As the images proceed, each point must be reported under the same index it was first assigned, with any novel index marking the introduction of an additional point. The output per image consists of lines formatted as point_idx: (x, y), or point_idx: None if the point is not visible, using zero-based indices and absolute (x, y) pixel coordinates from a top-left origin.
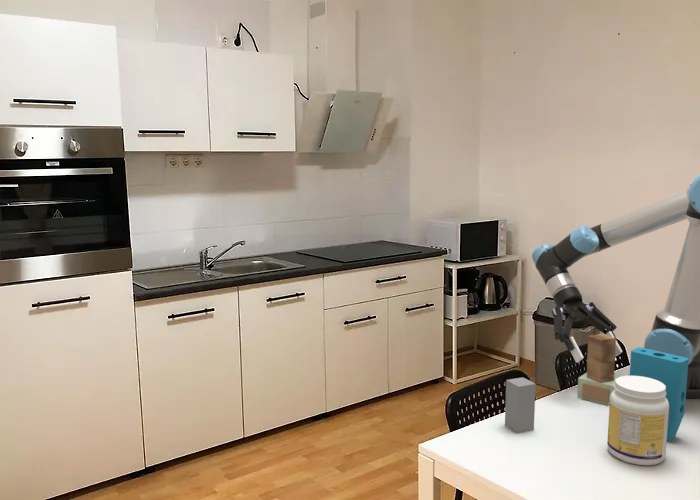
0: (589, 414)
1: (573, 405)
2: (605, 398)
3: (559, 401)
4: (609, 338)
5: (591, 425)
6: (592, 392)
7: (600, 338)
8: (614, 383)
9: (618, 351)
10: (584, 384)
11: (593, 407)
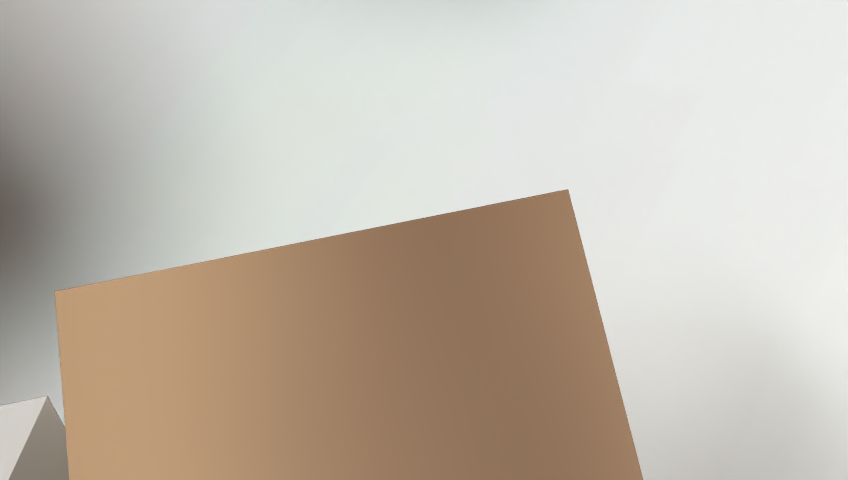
0: (673, 177)
1: (720, 365)
2: None
3: (808, 475)
4: (243, 304)
5: (750, 10)
6: None
7: (496, 360)
8: None
9: (53, 449)
10: None
11: None
